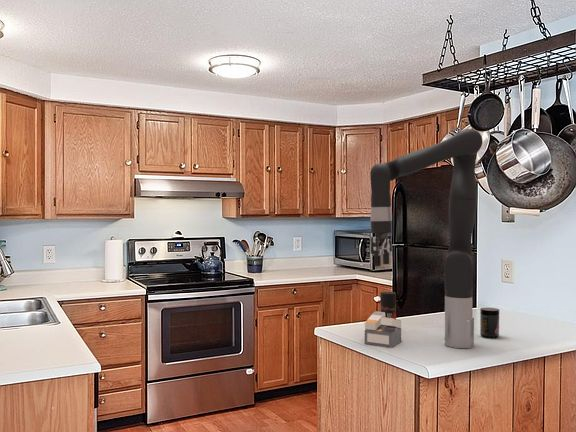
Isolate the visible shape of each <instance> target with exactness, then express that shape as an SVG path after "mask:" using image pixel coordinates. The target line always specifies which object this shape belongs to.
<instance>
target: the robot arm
mask: <svg viewBox="0 0 576 432" xmlns="http://www.w3.org/2000/svg"><path fill="white" fill-rule="evenodd" d="M482 147H483V137H482V135H481V133H480V132H479V131H478V130H476V129H473V128H464V129H462V130H460V131H458V133H456V134H455V135H452V136H451V137H449V138H447V139H445V140H442V141H441V142H438V143H436V144H433V145H430V146H426V147H424V148H421V149H418V150H415V151H412V152H408V153H406V154H403V155H401V156H398V157H396V158H395V159H393V160H391V161H388V162H384V163H377V164H374V165H373V166H372V167H371V169H370V172H369V174H370V176H369V177H370V179H369V180H370V191H371V195H370V233H371V234H374V236H371V237H370V254H371V255H373V266H374V267H381V265H382V264H381V263H383V265H390V254H391V252H393V242H392V235H391V234H392V233H393V212H392V199H391V198H392V195H391V181H394V180H396V179H398V178H400V177H405V176H408V175H411V174H414V173H417V172H419V171H422V170H424V169H427V168H428V167H431V166H433V165H436V164H437V163H440V162H443V161H446V160H450V159H453V162H452V163H453V164H452V165H453V170H452V171H453V172H452V178H451V183H450V191H449V199H448V200H449V201H448V224H449V242H448V251H447V256H446V258H445V260H444V264H443V265H444V267H443V268H444V269H443V270H444V273H443V276H444V345H445V346H446V347H449V348H454V349H455V348H456V349H472V348H473V346H474V345H475V318H474V317H473V293H474V292H473V290H474V289H473V288H474V287H473V286H474V285H473V278H474V276H473V270H474V269H473V265H474V264H473V261H474V259H473V253H472V240H473V236H472V235H473V233H474V228H475V227H474V226H475V222H476V215H477V205H478V190H477V180H476V163H477V157H478V156H477V155H478V152H479V151H480V150H481V148H482ZM389 234H390V235H389ZM381 256H382V260H381ZM381 261H382V262H381Z"/></svg>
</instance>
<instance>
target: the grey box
mask: <svg viewBox="0 0 576 432" xmlns="http://www.w3.org/2000/svg"><path fill="white" fill-rule="evenodd" d="M401 342H402V327H392V326H381V325H380V326H379V327H378V328H377V330H368V329H364V345H369V346H375V347H376V346H377V347H382V348H383V347H384V348H390V349H392V348H393V347H395V346H397V345H399V344H400V343H401Z"/></svg>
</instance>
